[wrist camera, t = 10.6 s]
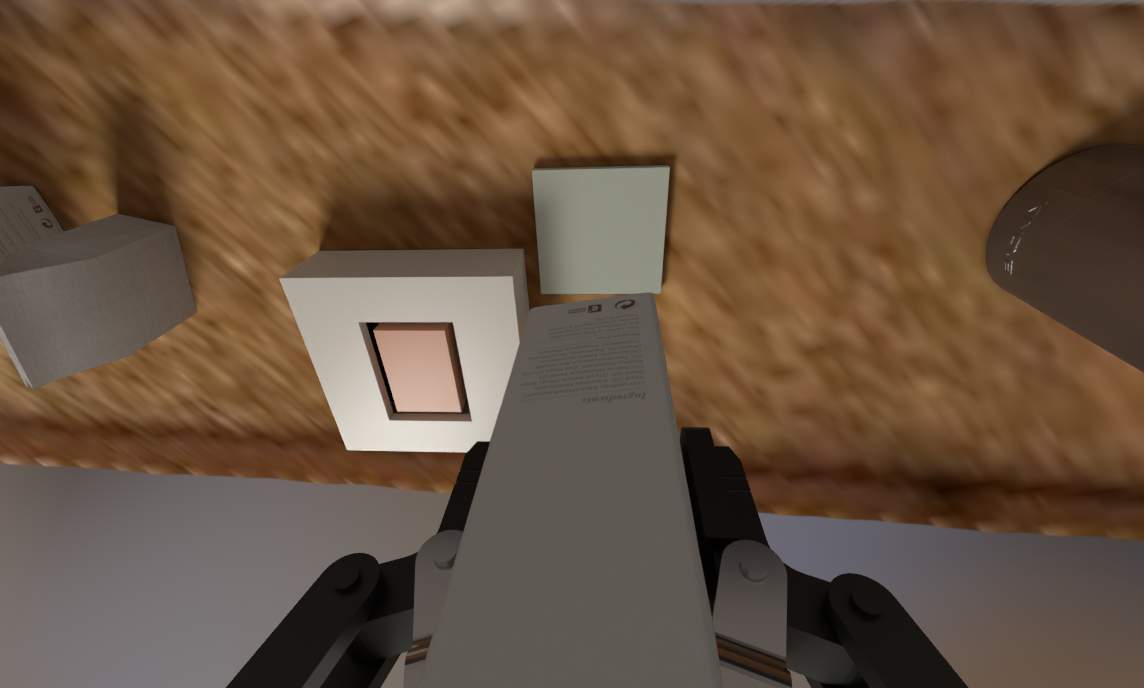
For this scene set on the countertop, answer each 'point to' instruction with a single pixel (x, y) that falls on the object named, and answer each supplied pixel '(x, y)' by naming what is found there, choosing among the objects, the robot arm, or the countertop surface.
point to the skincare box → (580, 521)
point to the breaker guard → (410, 294)
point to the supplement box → (23, 219)
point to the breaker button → (422, 365)
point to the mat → (601, 228)
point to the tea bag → (91, 296)
